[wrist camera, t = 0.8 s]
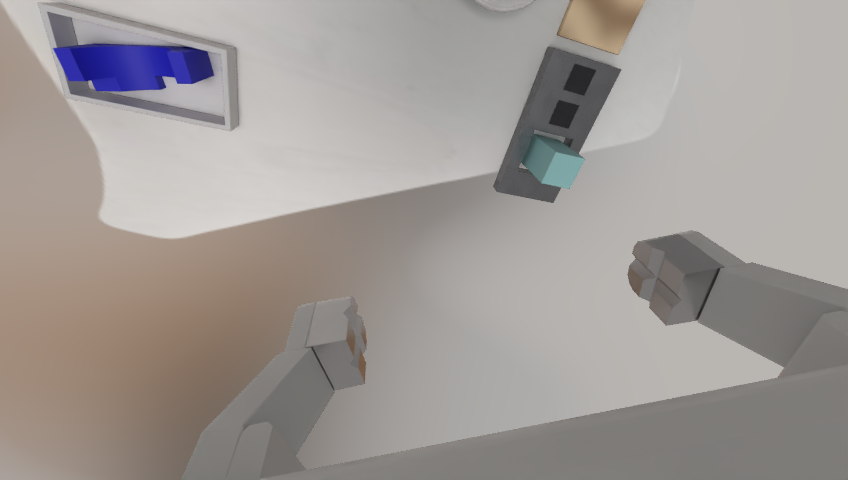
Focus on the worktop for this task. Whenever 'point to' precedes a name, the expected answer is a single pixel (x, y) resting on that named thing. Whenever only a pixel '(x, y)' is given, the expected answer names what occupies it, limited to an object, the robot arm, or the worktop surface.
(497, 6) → the ramekin
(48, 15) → the clip tray
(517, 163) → the grey slotted board
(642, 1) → the pad
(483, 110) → the worktop surface
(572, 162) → the upright teal block
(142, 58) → the cable clip
